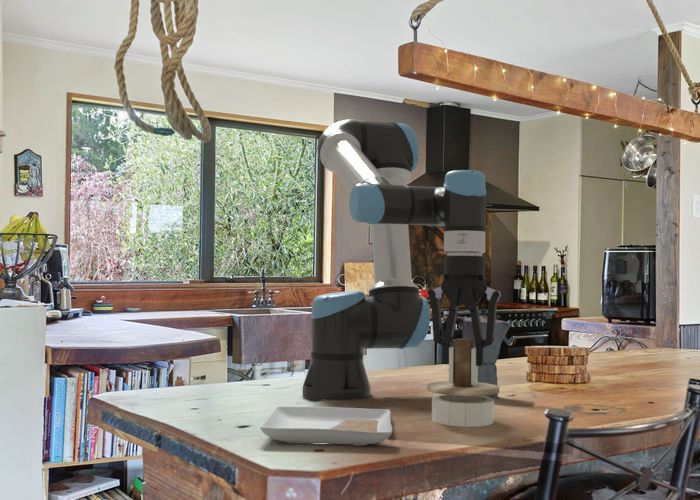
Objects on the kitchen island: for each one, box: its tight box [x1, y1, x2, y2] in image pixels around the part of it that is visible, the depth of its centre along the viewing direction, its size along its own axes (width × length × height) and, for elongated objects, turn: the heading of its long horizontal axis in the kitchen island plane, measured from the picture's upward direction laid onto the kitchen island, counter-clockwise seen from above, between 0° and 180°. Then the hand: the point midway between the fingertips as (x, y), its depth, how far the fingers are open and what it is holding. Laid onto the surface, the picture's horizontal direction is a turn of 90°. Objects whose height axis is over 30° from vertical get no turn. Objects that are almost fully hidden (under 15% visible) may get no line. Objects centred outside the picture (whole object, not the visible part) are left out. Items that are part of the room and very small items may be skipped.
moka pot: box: [442, 307, 513, 400], centre depth 177 cm, size 10×15×20 cm, turn 78°
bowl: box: [431, 394, 495, 428], centre depth 143 cm, size 11×11×5 cm
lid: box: [426, 338, 500, 396], centre depth 143 cm, size 13×13×9 cm
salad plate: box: [259, 406, 393, 445], centre depth 134 cm, size 21×21×3 cm
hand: (463, 383), depth 143 cm, fingers closed on lid, 3 cm apart
